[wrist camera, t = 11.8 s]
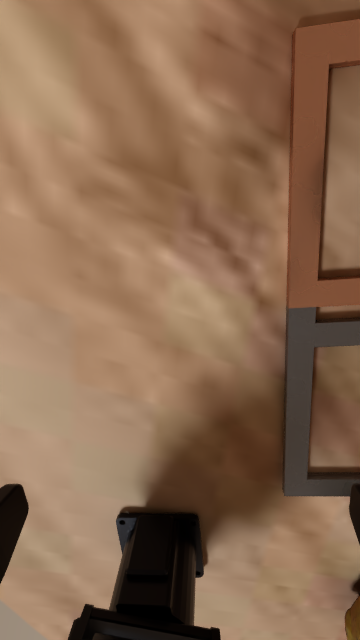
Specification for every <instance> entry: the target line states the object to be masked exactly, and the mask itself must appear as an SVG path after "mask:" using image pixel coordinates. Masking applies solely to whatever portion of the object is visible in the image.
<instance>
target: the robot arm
mask: <svg viewBox="0 0 360 640" xmlns="http://www.w3.org/2000/svg"><path fill="white" fill-rule="evenodd" d="M28 509H29V507H28V502H27V499H26V496H25V492H24V489H23V487H22V485H21V484H6V485H4V486H3V487H1V488H0V583H1V581H2V579H3V577H4V575H5V572H6V570H7V567H8V565H9V562H10V560H11V557H12V554H13V552H14V549H15V546H16V544H17V541H18V538H19V536H20V533H21V531H22V528H23V525H24V523H25V520H26V517H27V514H28ZM349 512H350V517H351V520H352V523H353V526H354V529H355V532H356V535H357V538H358V541H359V544H360V484H353V485H352V487H351V495H350V505H349ZM116 525H117V530H118V535H119V540H120V545H121V550H122V559H121V563H120V567H119V571H118V575H117V579H116V583H115V587H114V591H113V595H112V599H111V603H110V607H109V610H107V609H101V608H96V607H94V605H90V604H85V606H84V609H83V612H82V614H81V617H80V618H77V619H76V620H74V622H73V625H72V628H71V631H70V634H69V637H68V640H221V638H220V629H219V628H214V627H211V628H210V629H209V628H203V627H198V626H194V607H195V578H199V577H202V576H203V574H204V566H203V555H202V544H201V532H200V521H199V517H198V516H197V515H195V514H152V513H121V514H119V515H118V516H117V520H116Z"/></svg>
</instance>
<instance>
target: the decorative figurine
mask: <svg viewBox="0 0 360 640" xmlns="http://www.w3.org/2000/svg"><path fill="white" fill-rule="evenodd" d="M345 630H346V635H347V640H360V595H359V597H358V598H357V599H356V601H355V602H354V603H353V605H352V606H351V608H350V609H348V610H347V612H346V614H345Z"/></svg>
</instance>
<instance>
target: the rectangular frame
mask: <svg viewBox="0 0 360 640" xmlns="http://www.w3.org/2000/svg"><path fill="white" fill-rule="evenodd" d="M355 65H360V19H356V20H349V21H342V22H335V23H328V24H321V25H314V26H307V27H300V28H296V29H295V31H294V33H293V35H292V78H291V124H290V169H289V215H288V260H287V306H286V351H285V397H284V443H283V488H282V489H283V493H284V496H350V495H351V487H352V485H353V484H360V473H307V470H308V451H309V432H310V413H311V394H312V375H313V356H314V347H331V346H354V345H360V318H342V319H323V320H315V318H316V307H323V306H341V305H359V304H360V276H348V277H333V278H318V261H319V242H320V224H321V205H322V186H323V167H324V148H325V129H326V110H327V91H328V72H329V69H332V68H340V67H347V66H355Z"/></svg>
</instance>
